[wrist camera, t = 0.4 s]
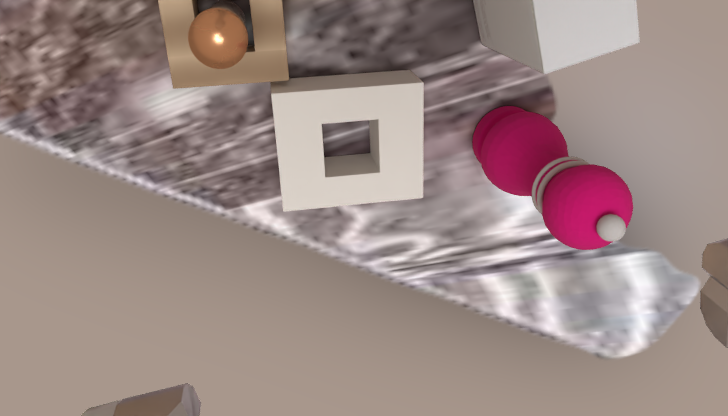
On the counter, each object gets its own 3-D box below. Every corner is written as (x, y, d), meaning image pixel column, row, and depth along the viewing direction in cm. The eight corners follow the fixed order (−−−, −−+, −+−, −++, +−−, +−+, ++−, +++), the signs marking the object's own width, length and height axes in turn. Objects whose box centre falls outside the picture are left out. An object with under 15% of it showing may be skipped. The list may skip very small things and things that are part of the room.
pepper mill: (549, 104, 55) (687, 186, 37) (529, 177, 58) (649, 285, 40) (476, 96, 54) (583, 176, 36) (459, 170, 57) (551, 280, 39)
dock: (270, 79, 51) (271, 93, 46) (409, 69, 52) (423, 82, 48) (281, 188, 55) (283, 211, 50) (410, 176, 56) (423, 197, 52)
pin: (198, -4, 47) (183, 11, 38) (247, -7, 48) (244, 7, 39) (205, 45, 49) (192, 71, 40) (252, 42, 49) (251, 67, 40)
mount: (158, -38, 46) (151, -36, 43) (277, -44, 47) (278, -42, 44) (178, 80, 49) (173, 88, 47) (287, 72, 51) (289, 80, 48)
